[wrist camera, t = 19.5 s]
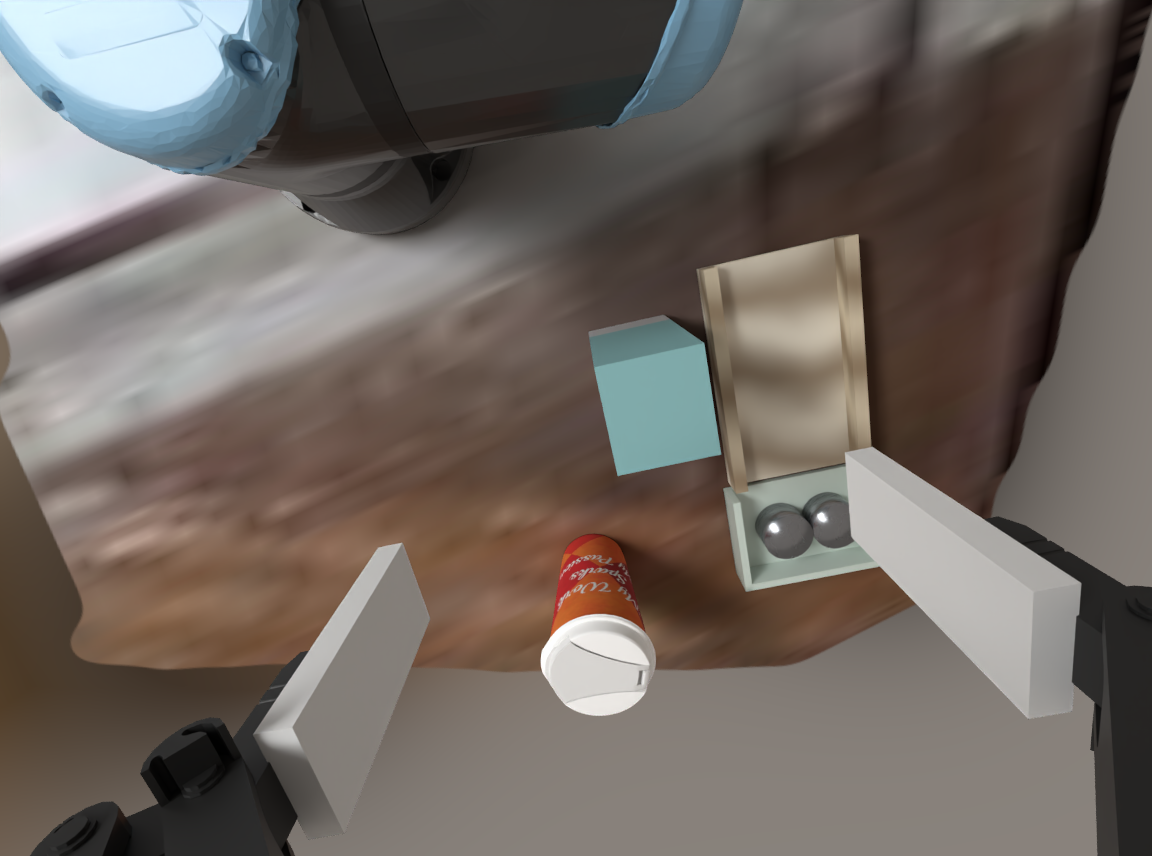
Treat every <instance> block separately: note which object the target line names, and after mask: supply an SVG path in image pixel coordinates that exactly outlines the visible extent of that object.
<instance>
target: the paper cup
mask: <svg viewBox="0 0 1152 856" xmlns="http://www.w3.org/2000/svg"><path fill="white" fill-rule="evenodd" d="M655 665H656V656H655V650H654V647H653V644H652V642H651V640H650V638H649V637H648V636H647V634H646V632H645V628H644V624H643V621H642V617H641V614H640V611H639V607H638V604H637V600H636V597H635V593H634V589H633V586H632V582H631V578H630V575H629V571H628V568H627V564H626V561H625V558H624V555H623V552H622V550H621V549H620V547H619V546H618V544H617V543H616V542H615V541H613V540H612V539H610V538H609V537H606V536H604V535H599V534H588V535H584V536H581V537H579V538H577V539H575V540H574V541H573V542H571V543H570V544H569V546H568V547H567V549H566V550H565V553H564V556H563V560H562V565H561V570H560V577H559V583H558V590H557V596H556V603H555V610H554V617H553V623H552V630H551V637H550V639H549V641H548V642H547V644H546V645H545V647H544V648H543V650H542V654H541V668H542V673H543V674H544V675H545V677H546V678H547V680H548V681H549V683H550V685H551V686H552V687H553V689H554V691H555V693H556V694H557V695H558V697H559V698H560V699H561V700H562V702H563V703H564V704H565V705H566V706H568V707H569V708H571V709H573V710H575V711H578V712H580V713H584V714H587V715H595V716H601V715H603V716H604V715H611V714H615V713H619V712H621V711H624V710H626V709H628V708H630V707H631V706H632V705H634V704H635V703H637V702H638V701H639V700H640V699H641V698H642V697H643V695H644V694H645V692H646V691H647V685H648V683H649V682H650V680H651V678H652V675H653V673H654V670H655Z"/></svg>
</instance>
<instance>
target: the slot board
mask: <svg viewBox="0 0 1152 856" xmlns="http://www.w3.org/2000/svg"><path fill="white" fill-rule="evenodd" d="M696 270H697V277H698V283H699V290H700V297H701V303H702V310H703V317H704V323H705V330H706V337H707V343H708V350H709V357H710V363H711V370H712V377H713V383H714V390H715V397H716V403H717V410H718V417H719V423H720V430H721V437H722V443H723V450H724V457H725V463H726V470H727V477H728V482H729V484H730V485H731V487H732V488H733V490H734V491H735V493H736V494H738V493H743V492H748V485H747V483H748V482H753V481H757V480H762V479H767V478H772V477H777V476H782V475H787V474H792V473H797V472H802V471H807V470H812V469H817V468H822V467H826V466H831V465H836V464H841V463H846V461H845V452H850V451H854V450H859V449H864V448H869V447H871V434H870V417H869V401H868V385H867V368H866V352H865V335H864V319H863V302H862V286H861V269H860V253H859V237H858V234H857V235H842V236H838V237H834V238H829V239H825V240H821V241H816V242H812V243H808V244H803V245H799V246H795V247H790V248H786V249H782V250H777V251H773V252H769V253H764V254H760V255H755V256H751V257H747V258H742V259H738V260H734V261H729V262H725V263H721V264H716V265H712V266H708V267H703V268H699V269H696Z"/></svg>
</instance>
